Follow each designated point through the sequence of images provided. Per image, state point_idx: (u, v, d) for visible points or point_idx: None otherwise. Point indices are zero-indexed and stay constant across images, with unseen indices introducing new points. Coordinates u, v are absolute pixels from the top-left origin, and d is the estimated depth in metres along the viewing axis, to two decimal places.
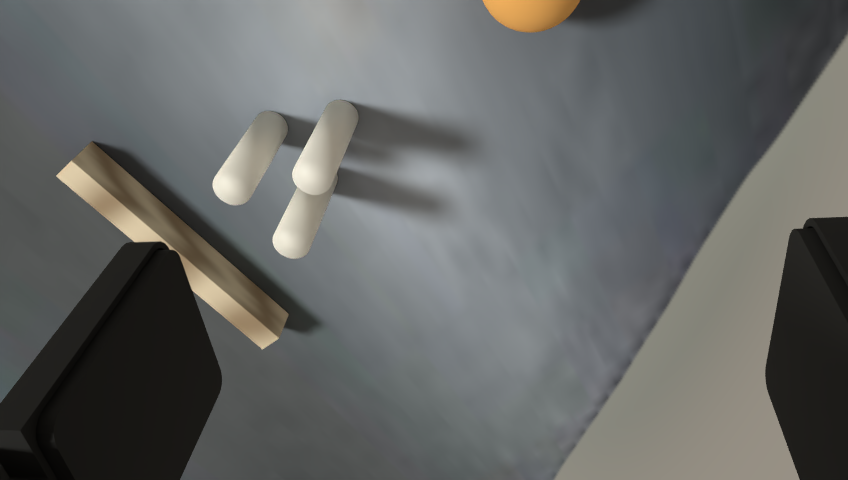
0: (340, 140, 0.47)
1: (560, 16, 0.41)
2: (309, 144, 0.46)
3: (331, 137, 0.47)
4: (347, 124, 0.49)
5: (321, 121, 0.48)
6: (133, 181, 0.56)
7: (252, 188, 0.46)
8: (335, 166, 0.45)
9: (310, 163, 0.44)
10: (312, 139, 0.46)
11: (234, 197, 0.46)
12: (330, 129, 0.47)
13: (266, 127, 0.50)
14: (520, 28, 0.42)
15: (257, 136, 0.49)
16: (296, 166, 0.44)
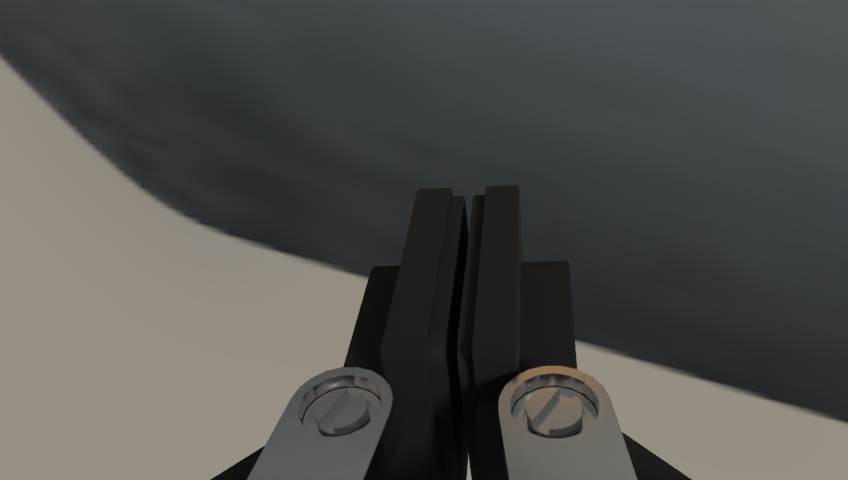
0: None
1: None
2: None
3: None
4: None
5: None
6: None
7: None
8: None
9: None
10: None
11: None
12: None
13: None
14: None
15: None
16: None
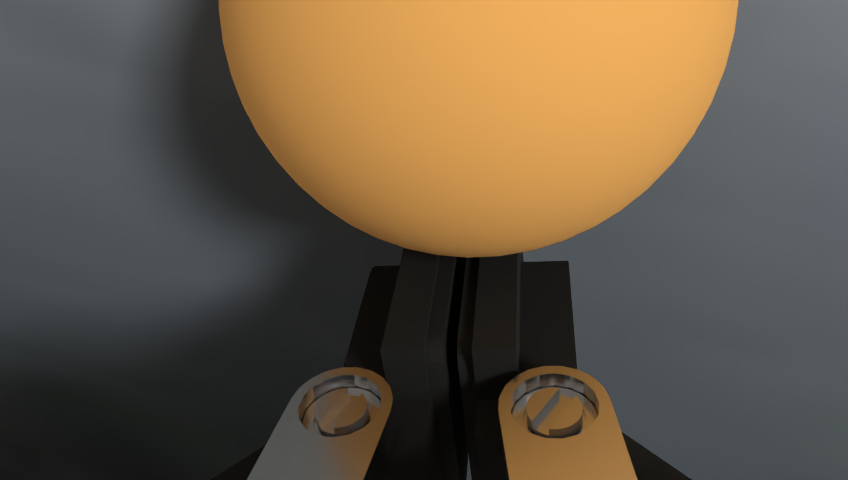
0: None
1: (232, 26, 0.08)
2: None
3: None
4: None
5: None
6: None
7: None
8: None
9: None
10: None
11: None
12: None
13: None
14: None
15: None
16: None
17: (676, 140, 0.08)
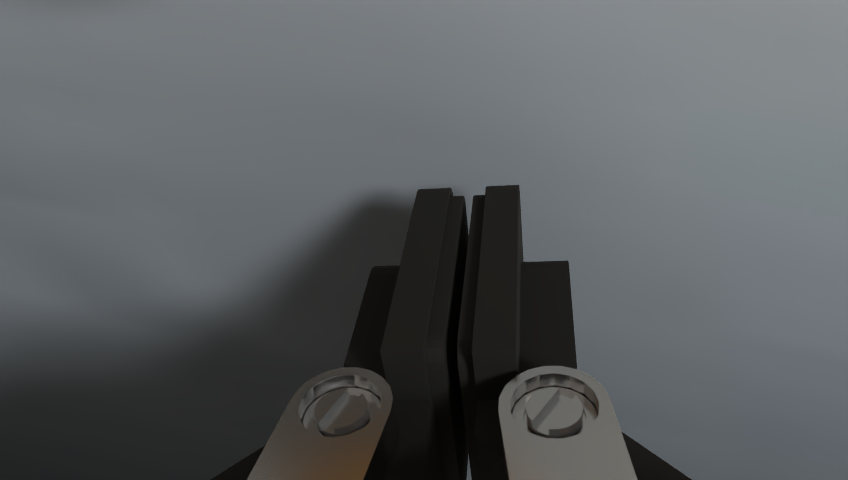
0: None
1: None
2: None
3: None
4: None
5: None
6: None
7: None
8: None
9: None
10: None
11: None
12: None
13: None
14: None
15: None
16: None
17: None
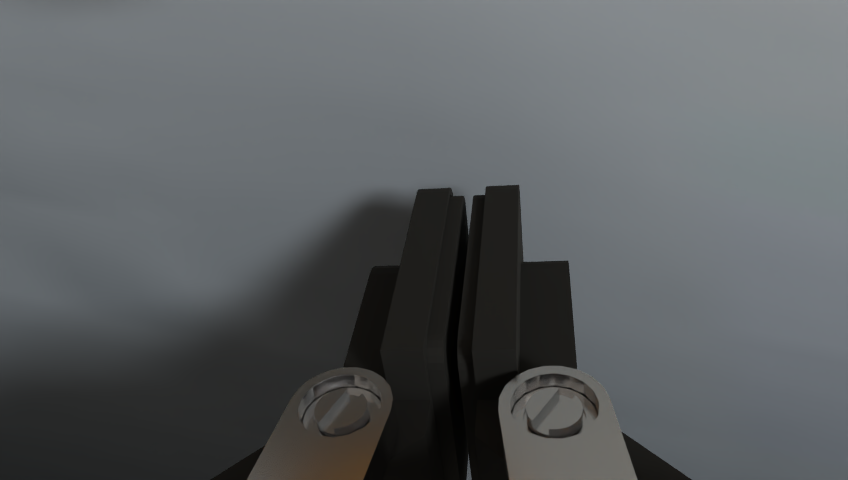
0: None
1: None
2: None
3: None
4: None
5: None
6: None
7: None
8: None
9: None
10: None
11: None
12: None
13: None
14: None
15: None
16: None
17: None
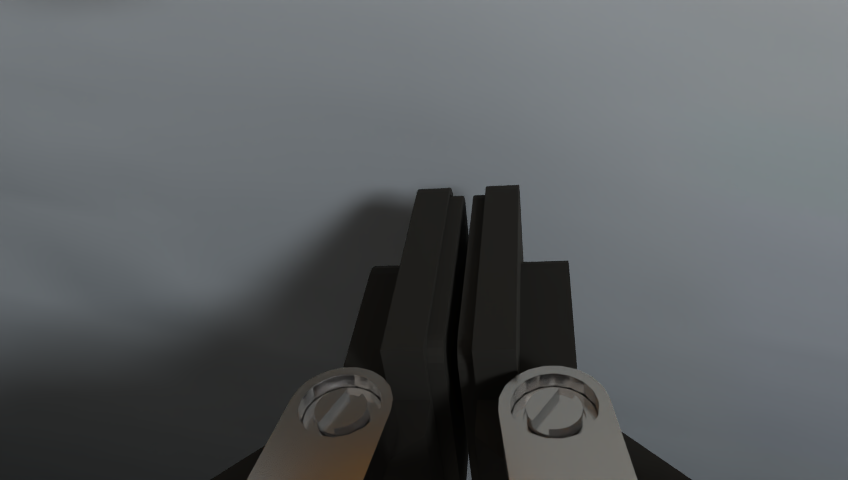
0: None
1: None
2: None
3: None
4: None
5: None
6: None
7: None
8: None
9: None
10: None
11: None
12: None
13: None
14: None
15: None
16: None
17: None
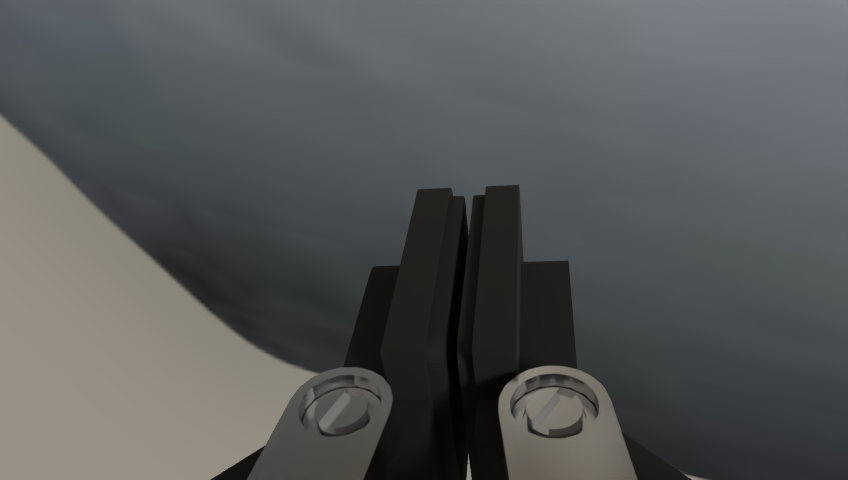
0: None
1: None
2: None
3: None
4: None
5: None
6: None
7: None
8: None
9: None
10: None
11: None
12: None
13: None
14: None
15: None
16: None
17: None
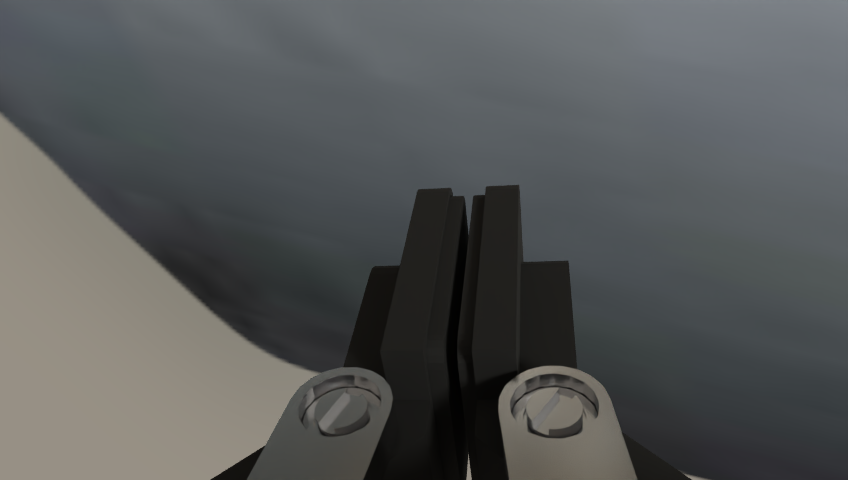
0: None
1: None
2: None
3: None
4: None
5: None
6: None
7: None
8: None
9: None
10: None
11: None
12: None
13: None
14: None
15: None
16: None
17: None
